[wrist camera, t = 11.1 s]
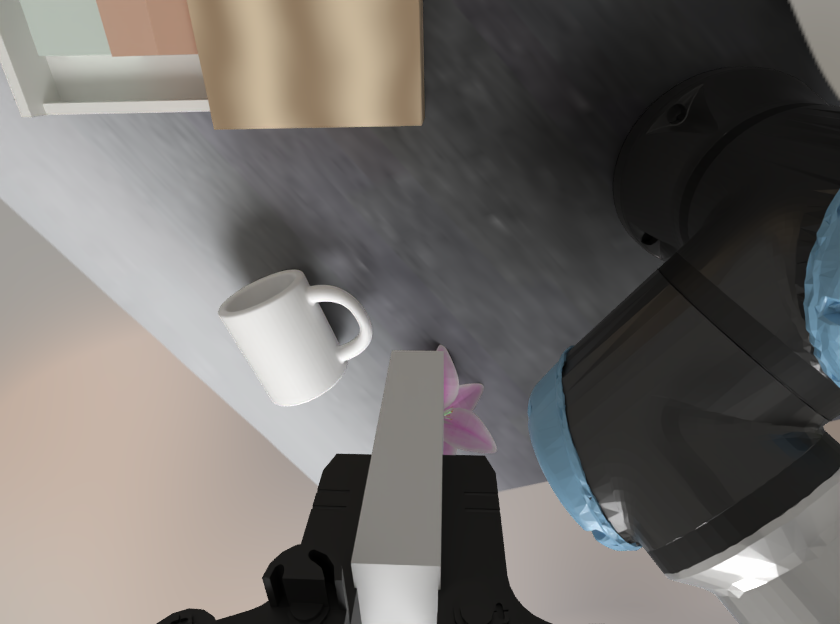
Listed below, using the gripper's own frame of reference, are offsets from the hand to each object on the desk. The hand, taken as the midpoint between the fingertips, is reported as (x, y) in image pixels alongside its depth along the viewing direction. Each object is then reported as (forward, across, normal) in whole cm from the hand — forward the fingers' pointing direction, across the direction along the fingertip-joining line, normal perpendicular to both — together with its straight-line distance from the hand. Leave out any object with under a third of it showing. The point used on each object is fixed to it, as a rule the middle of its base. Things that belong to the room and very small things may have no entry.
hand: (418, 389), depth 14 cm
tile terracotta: (+26, +19, -12) cm, 35 cm away
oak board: (+29, +8, -12) cm, 33 cm away
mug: (+30, +12, +13) cm, 35 cm away
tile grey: (+26, +25, -12) cm, 38 cm away
